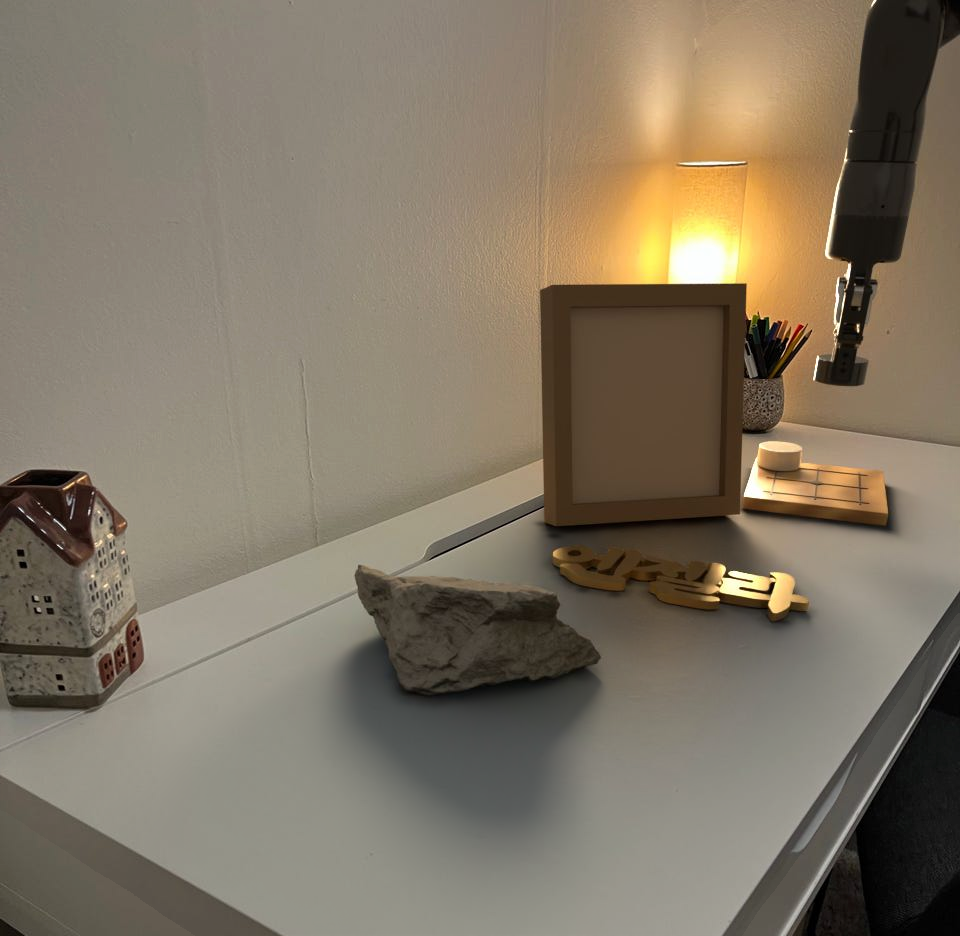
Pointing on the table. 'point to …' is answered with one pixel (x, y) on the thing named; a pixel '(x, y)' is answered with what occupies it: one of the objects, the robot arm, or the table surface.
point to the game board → (819, 493)
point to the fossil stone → (469, 631)
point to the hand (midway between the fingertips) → (839, 377)
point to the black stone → (825, 368)
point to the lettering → (680, 580)
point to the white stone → (779, 456)
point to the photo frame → (642, 401)
